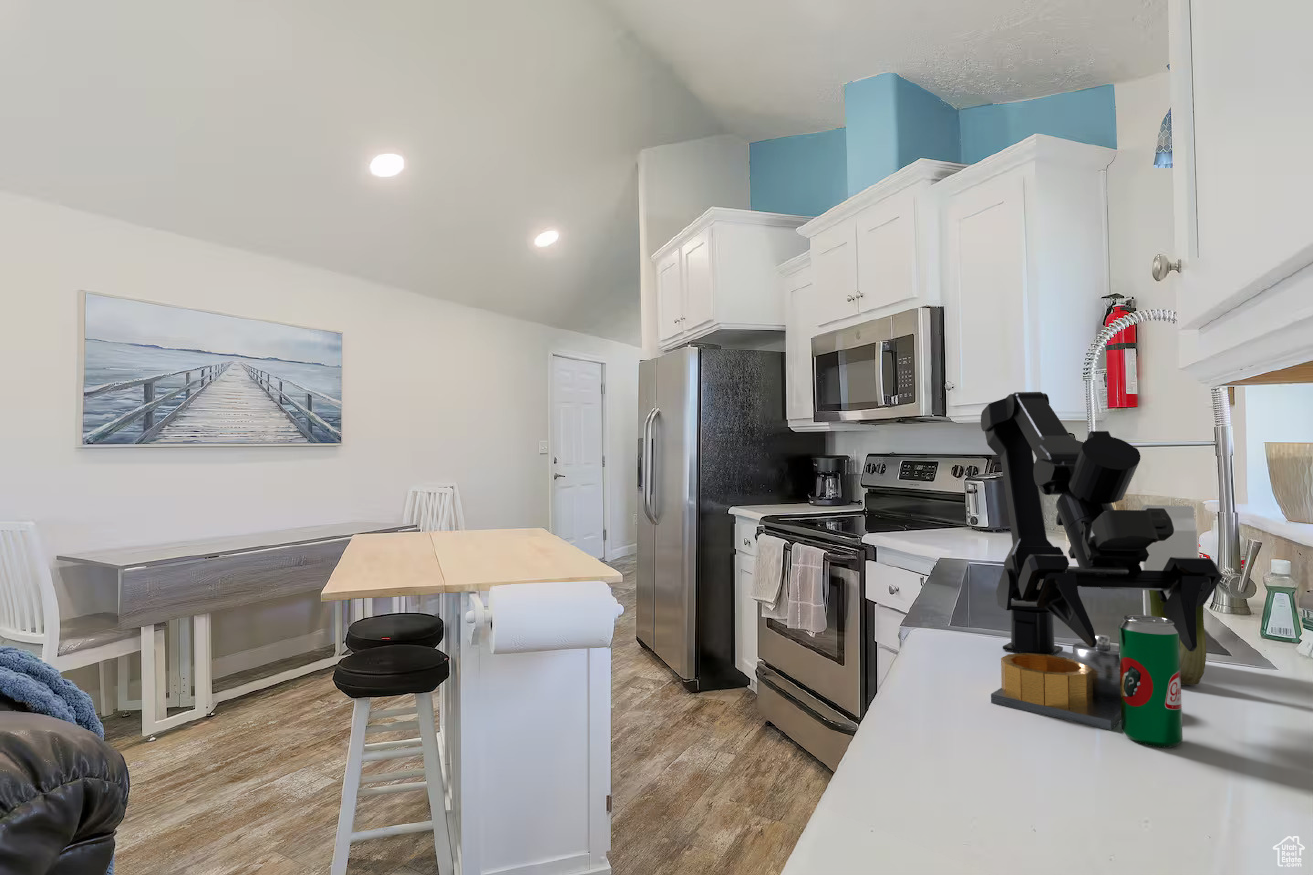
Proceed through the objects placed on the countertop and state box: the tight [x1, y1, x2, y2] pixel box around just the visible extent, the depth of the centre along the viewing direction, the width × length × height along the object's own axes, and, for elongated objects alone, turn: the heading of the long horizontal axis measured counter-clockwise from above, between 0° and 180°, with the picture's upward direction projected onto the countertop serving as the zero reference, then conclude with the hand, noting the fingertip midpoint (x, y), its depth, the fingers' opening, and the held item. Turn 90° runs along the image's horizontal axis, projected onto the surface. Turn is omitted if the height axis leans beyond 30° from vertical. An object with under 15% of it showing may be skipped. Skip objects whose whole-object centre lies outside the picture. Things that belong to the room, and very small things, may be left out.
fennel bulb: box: [1149, 590, 1207, 686], centre depth 90 cm, size 6×5×12 cm
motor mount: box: [990, 634, 1121, 731], centre depth 82 cm, size 14×12×8 cm
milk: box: [1141, 504, 1199, 616], centre depth 98 cm, size 6×6×22 cm
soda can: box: [1117, 614, 1184, 748], centre depth 71 cm, size 5×5×12 cm
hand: (1143, 647), depth 72 cm, fingers open, 9 cm apart
